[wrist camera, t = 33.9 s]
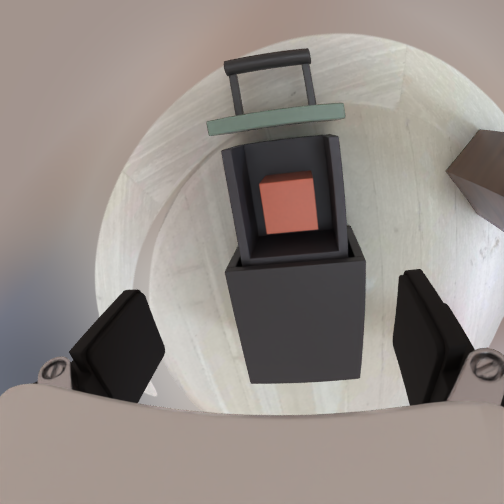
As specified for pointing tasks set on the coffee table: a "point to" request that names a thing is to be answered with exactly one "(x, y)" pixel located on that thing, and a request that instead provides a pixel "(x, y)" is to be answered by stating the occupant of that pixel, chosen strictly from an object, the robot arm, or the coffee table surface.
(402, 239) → the coffee table surface
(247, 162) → the pull-out drawer
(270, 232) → the block
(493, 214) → the block
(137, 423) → the robot arm
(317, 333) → the dark grey drawer box
